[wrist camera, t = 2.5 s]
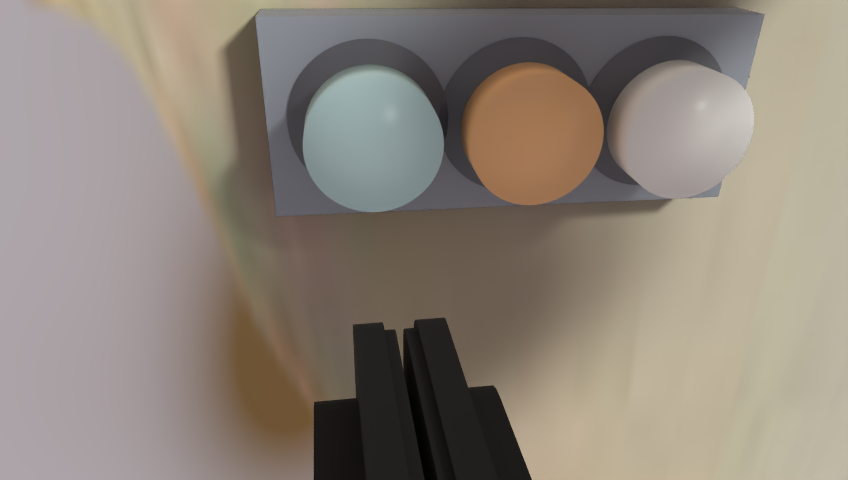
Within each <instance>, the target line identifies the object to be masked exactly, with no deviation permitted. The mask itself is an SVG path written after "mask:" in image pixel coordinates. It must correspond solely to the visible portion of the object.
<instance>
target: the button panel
mask: <svg viewBox="0 0 848 480" xmlns="http://www.w3.org/2000/svg"><path fill="white" fill-rule="evenodd" d="M764 15H765V14H761V13H757V12H752V11H748V10H744V9H740V8H432V9H260V10H259V12H258V13H257V15H256V16H255V19H256V29H257V38H258V48H259V57H260V67H261V76H262V86H263V95H264V105H265V115H266V124H267V134H268V143H269V153H270V162H271V172H272V181H273V191H274V200H275V210H276V216H299V215H321V214H343V213H366V212H363V211H357V210H353V209H350V208H347V207H345V206H342V205H340V204H338V203H336V202H335V201H333V200H332V199H330V198H329V197H327V196H326V195H325V194H324V193H323V192H322V191H321V190H320V189H319V188H318V186H317V185H316V184H315V183H314V181H313V179H312V178H311V176H310V174H309V172H308V170H307V167H306V164H305V161H304V155H303V134H304V124H305V116H306V112H307V109H308V106H309V104H310V101H311V99H312V98H313V96H314V94H315V93H316V91H317V90H318V89H319V88H320V86H321V85H322V84H323V83H324V82H325V81H327V80H328V79H329V78H330V77H332V76H333V75H335V74H336V73H338V72H340V71H342V70H345V69H347V68H350V67H354V66H359V65H368V64H371V65H382V66H387V67H390V68H393V69H396V70H398V71H400V72H402V73H404V74H405V75H407V76H408V77H410V78H411V79H412V80H414V81H415V82H416V83H417V84H418V85H419V86H420V88H421V89H422V90H423V91H424V93H425V94H426V96H427V97H428V99H429V101H430V103H431V105H432V107H433V108H434V110H435V112H436V114H437V116H438V118H439V120H440V124H441V127H442V131H443V137H444V151H443V157H442V161H441V165H440V167H439V170H438V172H437V174H436V176H435V178H434V179H433V181H432V182H431V184H430V185H429V186H428V187H427V188H426V189H425V191H424V192H423V193H421V194H420V195H419V196H418V197H417V198H415V199H414V200H412V201H411V202H409V203H407V204H405V205H403V206H401V207H398V208H395V209H392V210H388V211H410V210H433V209H455V208H477V207H500V206H522V205H520V204H514V203H511V202H507V201H505V200H503V199H501V198H499V197H497V196H496V195H494V194H493V193H492V192H490V191H489V190H488V189H487V188H486V187H485V186H484V185H483V183H482V182H481V180H480V179H479V177H478V176H477V174H476V172H475V170H474V169H473V167H472V165H471V163H470V162H469V160H468V158H467V156H466V154H465V152H464V148H463V145H462V140H461V122H462V117H463V113H464V110H465V107H466V104H467V102H468V101H469V99H470V97H471V95H472V94H473V92H474V91H475V90H476V88H477V87H478V86H479V85H480V84H481V83H482V82H483V81H484V80H485V79H486V78H487V77H489V76H490V75H492V74H493V73H495V72H496V71H498V70H500V69H502V68H504V67H507V66H510V65H513V64H517V63H524V62H536V63H542V64H546V65H549V66H552V67H554V68H556V69H558V70H560V71H561V72H563V73H564V74H566V75H567V76H568V77H570V78H571V79H573V80H574V81H576V82H577V83H579V84H580V85H581V86H583V87H584V88H585V89H586V90H587V91H588V92H589V93H590V94H591V95H592V97H593V98H594V99H595V101H596V103H597V105H598V107H599V109H600V112H601V115H602V119H603V126H604V136H603V143H602V148H601V151H600V154H599V157H598V159H597V161H596V163H595V165H594V167H593V168H592V170H591V172H590V173H589V174H588V176H587V177H586V178H585V179H584V180H583V181H582V182H581V183H580V184H579V185H578V186H577V187H576V188H575V189H573V190H572V191H571V192H569V193H567V194H566V195H564V196H562V197H560V198H558V199H556V200H553V201H551V202H548V203H543V204H538V205H545V204H567V203H589V202H612V201H634V200H656V199H672V198H664V197H660V196H657V195H654V194H652V193H650V192H649V191H647V190H646V189H644V188H643V187H642V186H641V185H640V184H638V183H637V182H636V181H635V180H634V179H633V178H632V177H630V176H629V175H628V174H627V173H626V172H625V171H624V170H622V169H621V168H620V167H619V166H618V165H617V163H616V162H615V161H614V159H613V157H612V155H611V153H610V150H609V147H608V142H607V124H608V119H609V115H610V112H611V110H612V107H613V105H614V103H615V101H616V99H617V98H618V96H619V94H620V93H621V92H622V90H623V89H624V88H625V87H626V85H627V84H628V83H629V82H630V81H631V80H632V79H634V78H635V77H636V76H637V75H638V74H640V73H641V72H643V71H644V70H646V69H648V68H650V67H652V66H654V65H657V64H659V63H662V62H667V61H672V60H687V61H691V62H695V63H698V64H700V65H703V66H705V67H707V68H710V69H712V70H715V71H717V72H720V73H722V74H724V75H727V76H729V77H731V78H733V79H734V80H736V81H737V82H738V83H739V84H741V85H742V87H743V88H744V89H746V85H747V81H748V77H749V73H750V70H751V66H752V62H753V58H754V54H755V50H756V46H757V42H758V38H759V34H760V30H761V26H762V22H763V18H764ZM721 183H722V181H721V182H720V183H718V184H717V185H716V186H714V187H712V188H711V189H709V190H707V191H705V192H703V193H700V194H697V195H695V196H691V197H687V198H701V197H718V195H719V191H720V187H721ZM388 211H382V212H388Z"/></svg>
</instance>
